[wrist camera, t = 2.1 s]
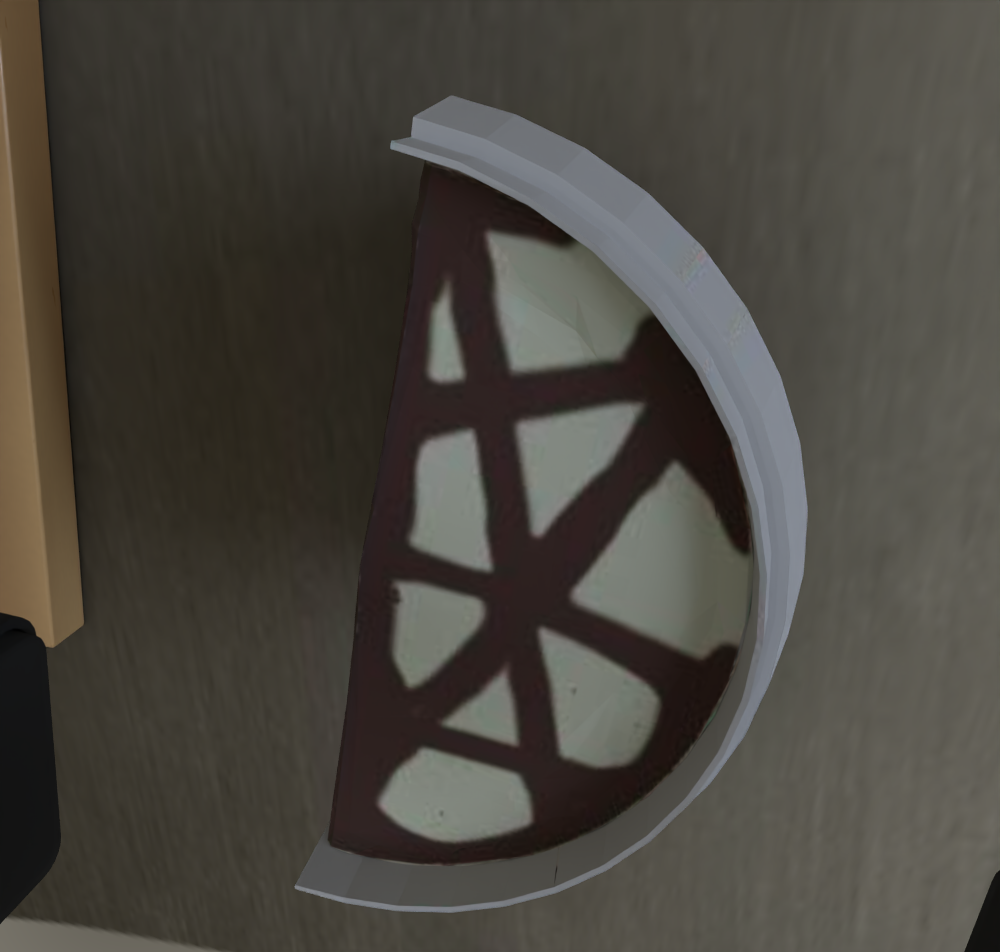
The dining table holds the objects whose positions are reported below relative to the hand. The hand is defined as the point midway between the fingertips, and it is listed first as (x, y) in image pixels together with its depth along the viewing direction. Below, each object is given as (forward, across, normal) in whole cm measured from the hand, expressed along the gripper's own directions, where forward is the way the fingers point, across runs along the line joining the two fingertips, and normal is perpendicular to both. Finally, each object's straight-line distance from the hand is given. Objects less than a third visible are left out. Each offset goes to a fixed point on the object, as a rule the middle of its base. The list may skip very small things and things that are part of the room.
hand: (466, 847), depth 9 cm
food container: (+14, 0, 0) cm, 14 cm away
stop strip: (+14, +16, 0) cm, 21 cm away
